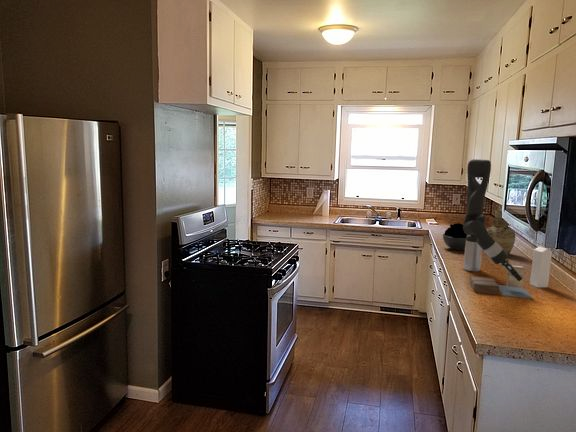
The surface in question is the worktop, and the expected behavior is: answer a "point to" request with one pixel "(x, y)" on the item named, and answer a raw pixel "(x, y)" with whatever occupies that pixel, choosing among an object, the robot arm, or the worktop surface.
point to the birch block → (512, 280)
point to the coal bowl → (455, 237)
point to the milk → (540, 267)
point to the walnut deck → (484, 285)
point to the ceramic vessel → (502, 232)
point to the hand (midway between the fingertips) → (519, 278)
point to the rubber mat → (514, 292)
